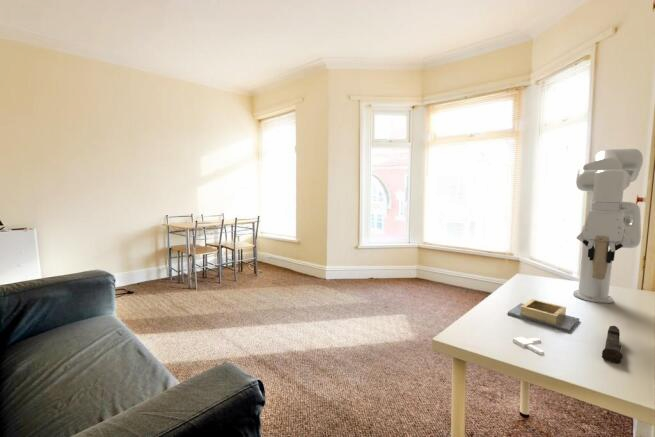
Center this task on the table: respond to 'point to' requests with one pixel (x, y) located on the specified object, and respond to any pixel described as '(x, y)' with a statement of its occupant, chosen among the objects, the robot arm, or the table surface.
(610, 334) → the dark brown carved statuette
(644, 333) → the table surface
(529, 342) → the corner connector
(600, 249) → the handle
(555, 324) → the collar base
